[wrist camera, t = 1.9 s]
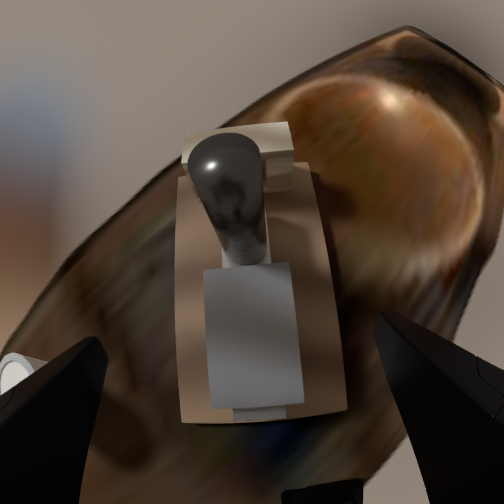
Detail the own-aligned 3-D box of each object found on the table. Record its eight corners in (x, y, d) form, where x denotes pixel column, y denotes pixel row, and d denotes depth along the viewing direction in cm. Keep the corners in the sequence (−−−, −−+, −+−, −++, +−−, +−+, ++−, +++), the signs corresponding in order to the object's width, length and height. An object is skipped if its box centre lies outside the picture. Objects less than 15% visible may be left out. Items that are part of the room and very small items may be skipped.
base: (343, 407, 18) (370, 425, 12) (186, 419, 19) (154, 439, 13) (306, 169, 26) (312, 120, 20) (181, 184, 26) (160, 139, 20)
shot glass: (108, 414, 19) (57, 425, 12) (65, 437, 18) (16, 446, 11) (76, 347, 21) (23, 337, 15) (37, 375, 20) (-12, 370, 14)
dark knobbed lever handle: (284, 408, 17) (297, 471, 6) (239, 412, 17) (195, 474, 6) (263, 207, 22) (253, 89, 12) (226, 211, 22) (190, 99, 12)
